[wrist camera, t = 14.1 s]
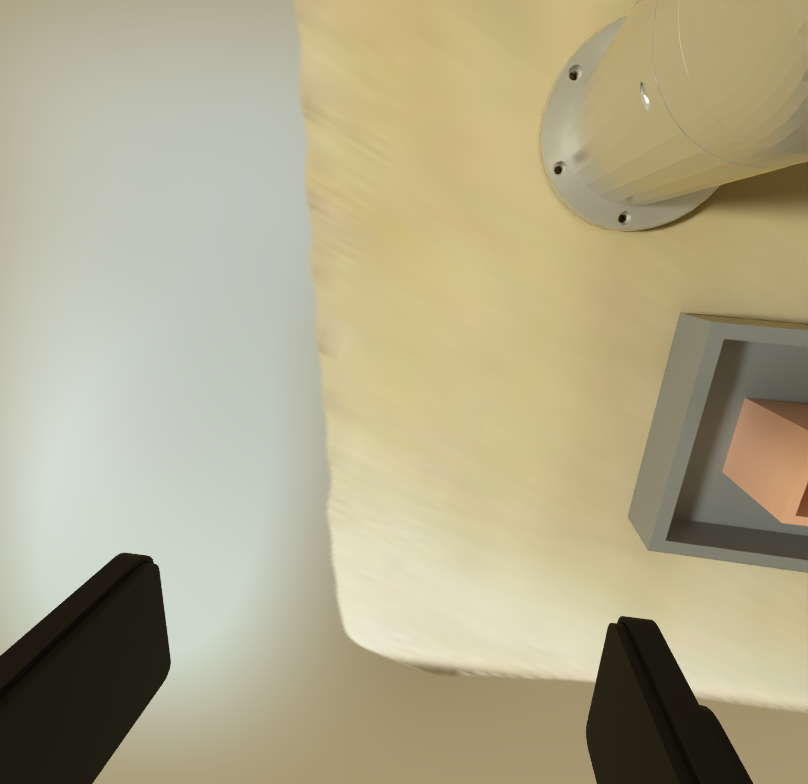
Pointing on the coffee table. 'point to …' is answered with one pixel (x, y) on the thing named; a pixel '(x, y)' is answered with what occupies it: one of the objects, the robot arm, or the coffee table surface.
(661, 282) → the coffee table surface
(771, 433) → the small crate
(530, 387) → the coffee table surface
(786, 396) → the grey square tray
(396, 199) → the coffee table surface
